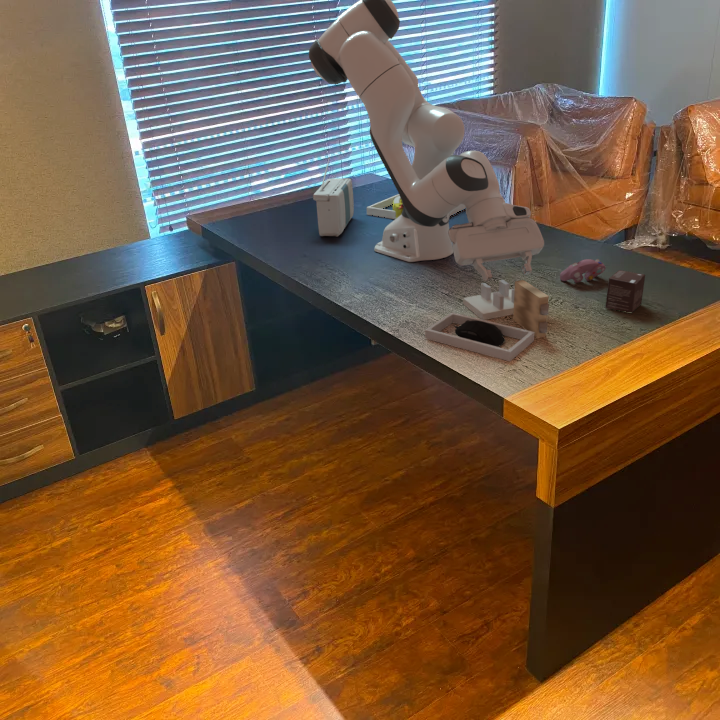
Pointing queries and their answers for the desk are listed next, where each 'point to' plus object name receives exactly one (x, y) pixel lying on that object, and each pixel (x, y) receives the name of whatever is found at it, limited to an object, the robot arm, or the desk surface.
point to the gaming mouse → (480, 332)
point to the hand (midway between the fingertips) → (508, 276)
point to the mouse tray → (479, 347)
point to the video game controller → (583, 270)
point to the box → (625, 291)
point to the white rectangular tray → (379, 211)
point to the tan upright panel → (530, 308)
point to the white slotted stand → (492, 301)
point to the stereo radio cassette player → (334, 205)
